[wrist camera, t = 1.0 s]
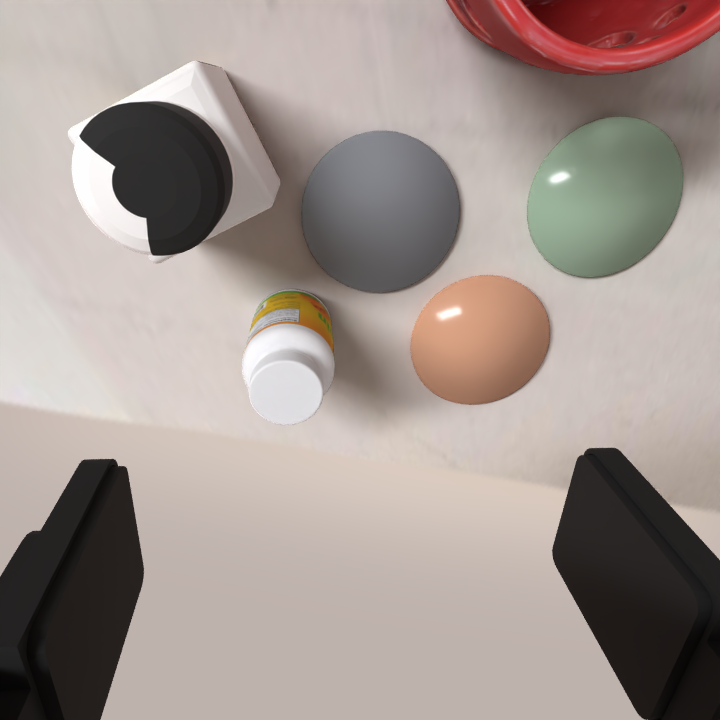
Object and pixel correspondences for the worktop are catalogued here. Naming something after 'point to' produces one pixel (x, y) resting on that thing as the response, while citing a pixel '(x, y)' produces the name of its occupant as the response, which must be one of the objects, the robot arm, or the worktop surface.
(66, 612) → the robot arm
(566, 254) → the sage green coaster
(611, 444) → the worktop surface
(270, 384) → the supplement bottle
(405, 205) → the slate grey coaster
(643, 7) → the plant pot
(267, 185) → the medicine bottle
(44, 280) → the worktop surface
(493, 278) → the peach coaster
